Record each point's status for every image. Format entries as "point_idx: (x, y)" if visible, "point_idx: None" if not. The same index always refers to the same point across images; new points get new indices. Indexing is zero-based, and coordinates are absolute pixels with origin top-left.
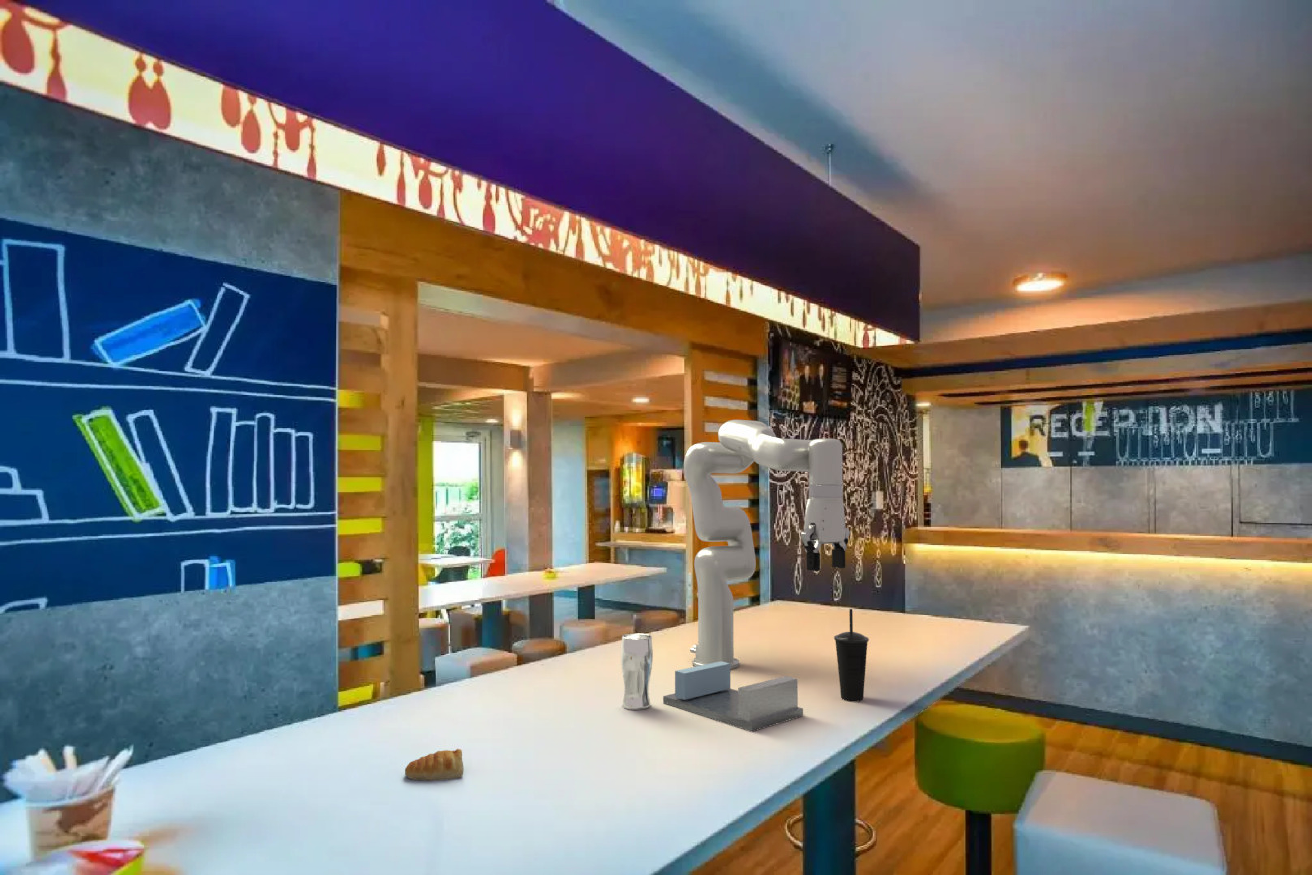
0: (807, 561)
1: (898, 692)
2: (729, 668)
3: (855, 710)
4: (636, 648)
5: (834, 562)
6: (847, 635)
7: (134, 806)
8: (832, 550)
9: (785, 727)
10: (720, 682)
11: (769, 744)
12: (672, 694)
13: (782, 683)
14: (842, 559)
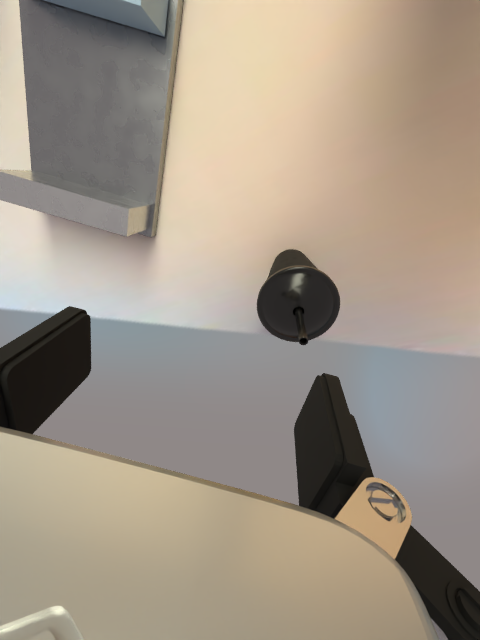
0: (36, 331)
1: (368, 317)
2: (142, 11)
3: (229, 290)
4: None
5: (315, 403)
6: (274, 308)
7: None
8: (344, 459)
9: (92, 235)
10: (124, 17)
11: (25, 246)
12: None
13: (85, 224)
14: (298, 462)
